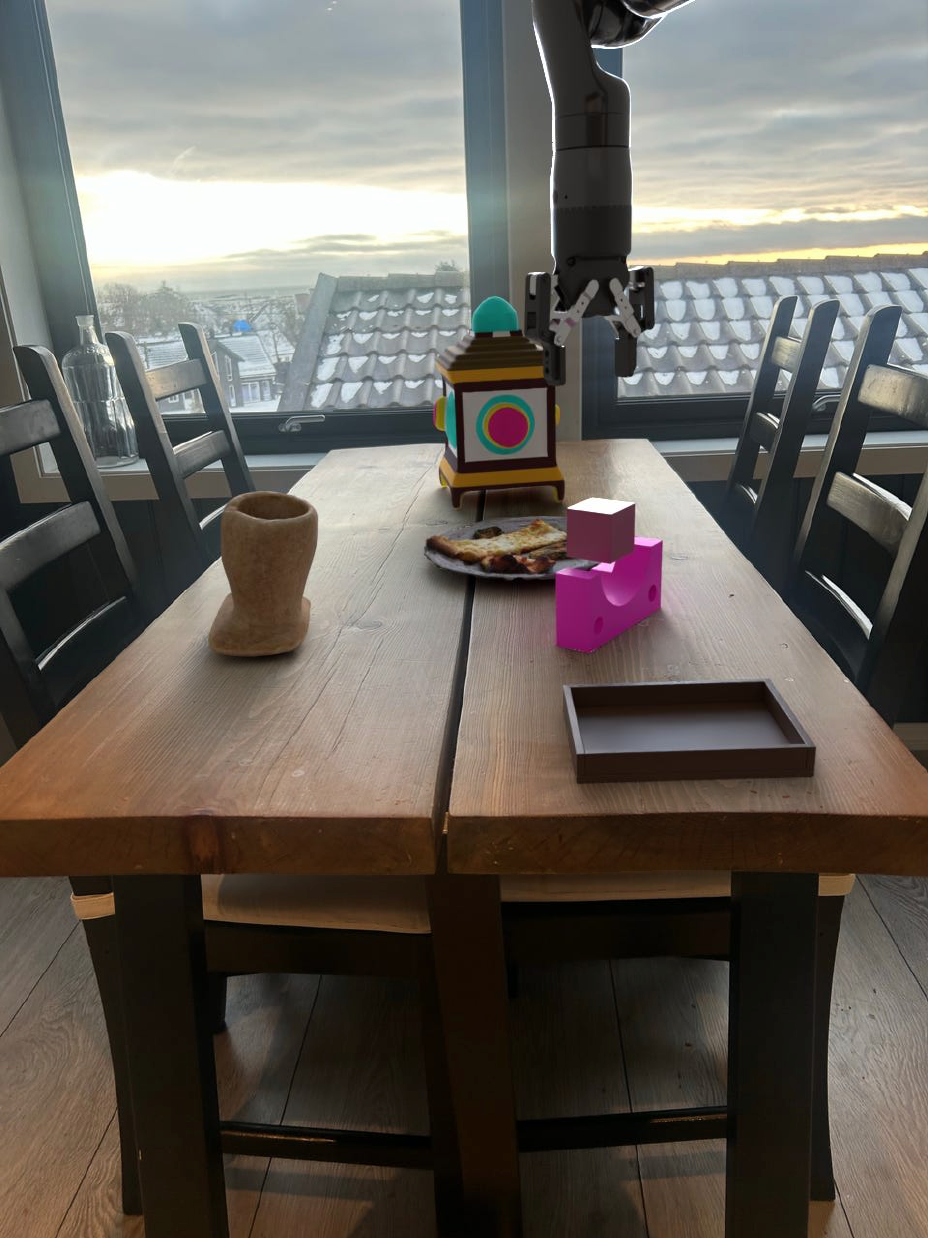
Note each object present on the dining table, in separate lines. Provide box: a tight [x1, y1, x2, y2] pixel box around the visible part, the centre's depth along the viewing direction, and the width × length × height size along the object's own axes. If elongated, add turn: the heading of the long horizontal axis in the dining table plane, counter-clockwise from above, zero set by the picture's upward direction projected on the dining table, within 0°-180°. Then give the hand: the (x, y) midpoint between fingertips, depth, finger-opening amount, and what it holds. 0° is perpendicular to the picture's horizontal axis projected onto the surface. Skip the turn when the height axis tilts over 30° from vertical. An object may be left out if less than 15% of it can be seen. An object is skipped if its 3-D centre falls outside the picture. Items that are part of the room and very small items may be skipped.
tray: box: [562, 678, 817, 784], centre depth 78 cm, size 17×12×2 cm
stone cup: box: [207, 490, 319, 657], centre depth 101 cm, size 15×12×15 cm
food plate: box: [423, 515, 602, 583], centre depth 124 cm, size 25×23×4 cm
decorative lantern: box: [433, 295, 566, 511], centre depth 154 cm, size 20×20×30 cm
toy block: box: [555, 535, 664, 654], centre depth 102 cm, size 15×6×8 cm, turn 143°
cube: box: [566, 497, 636, 564], centre depth 100 cm, size 5×5×5 cm
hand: (590, 380), depth 99 cm, fingers open, 8 cm apart
